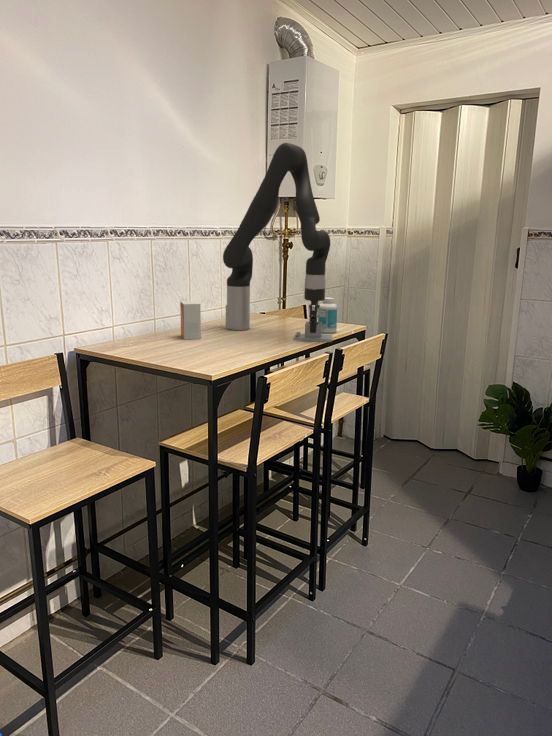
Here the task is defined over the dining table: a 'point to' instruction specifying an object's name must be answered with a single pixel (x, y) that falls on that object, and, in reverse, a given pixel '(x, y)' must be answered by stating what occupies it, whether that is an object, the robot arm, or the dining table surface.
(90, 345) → the dining table surface
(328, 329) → the pill bottle
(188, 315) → the small box
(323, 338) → the keeper
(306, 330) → the grey block
